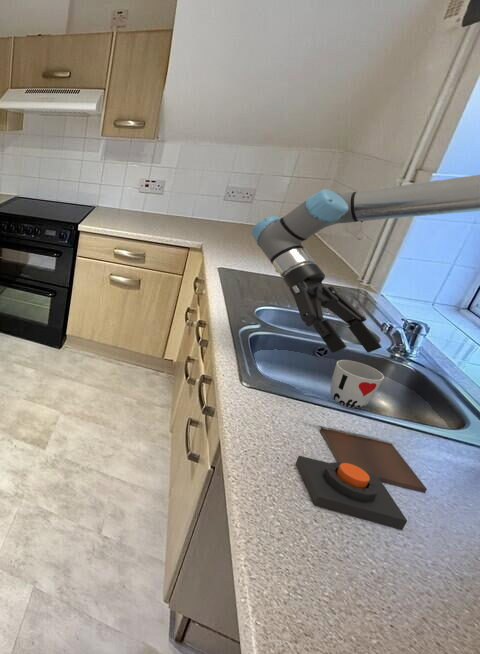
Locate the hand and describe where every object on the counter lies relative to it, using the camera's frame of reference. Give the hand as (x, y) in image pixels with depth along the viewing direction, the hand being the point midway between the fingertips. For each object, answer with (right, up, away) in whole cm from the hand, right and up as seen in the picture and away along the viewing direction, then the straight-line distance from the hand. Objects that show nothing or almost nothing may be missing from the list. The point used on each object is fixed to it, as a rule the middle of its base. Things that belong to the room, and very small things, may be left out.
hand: (357, 350), depth 90 cm
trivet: (-6, -20, -8) cm, 23 cm away
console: (-18, -23, -16) cm, 33 cm away
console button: (-18, -20, -17) cm, 31 cm away
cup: (+4, -15, +8) cm, 17 cm away
